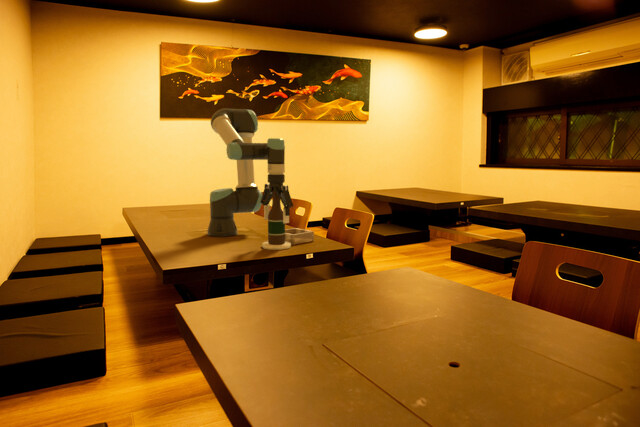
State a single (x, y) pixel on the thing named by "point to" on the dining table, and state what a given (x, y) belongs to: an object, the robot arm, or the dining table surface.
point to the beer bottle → (276, 223)
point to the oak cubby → (298, 236)
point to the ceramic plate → (276, 246)
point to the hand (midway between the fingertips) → (276, 221)
